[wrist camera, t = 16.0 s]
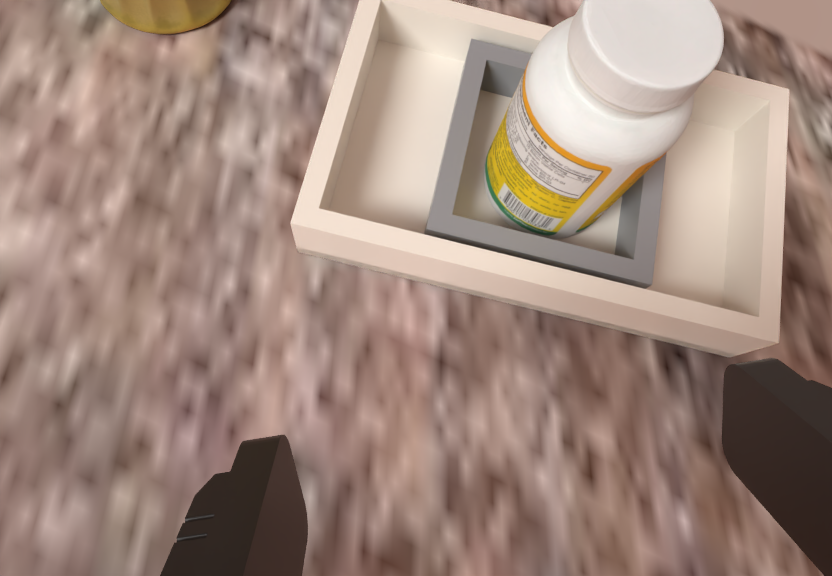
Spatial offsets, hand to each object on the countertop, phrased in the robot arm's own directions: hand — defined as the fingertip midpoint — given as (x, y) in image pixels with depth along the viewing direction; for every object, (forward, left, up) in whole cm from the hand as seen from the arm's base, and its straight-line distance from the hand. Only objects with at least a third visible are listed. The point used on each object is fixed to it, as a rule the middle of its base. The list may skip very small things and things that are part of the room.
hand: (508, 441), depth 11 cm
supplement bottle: (+2, +12, -11) cm, 17 cm away
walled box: (+2, +12, -12) cm, 17 cm away
